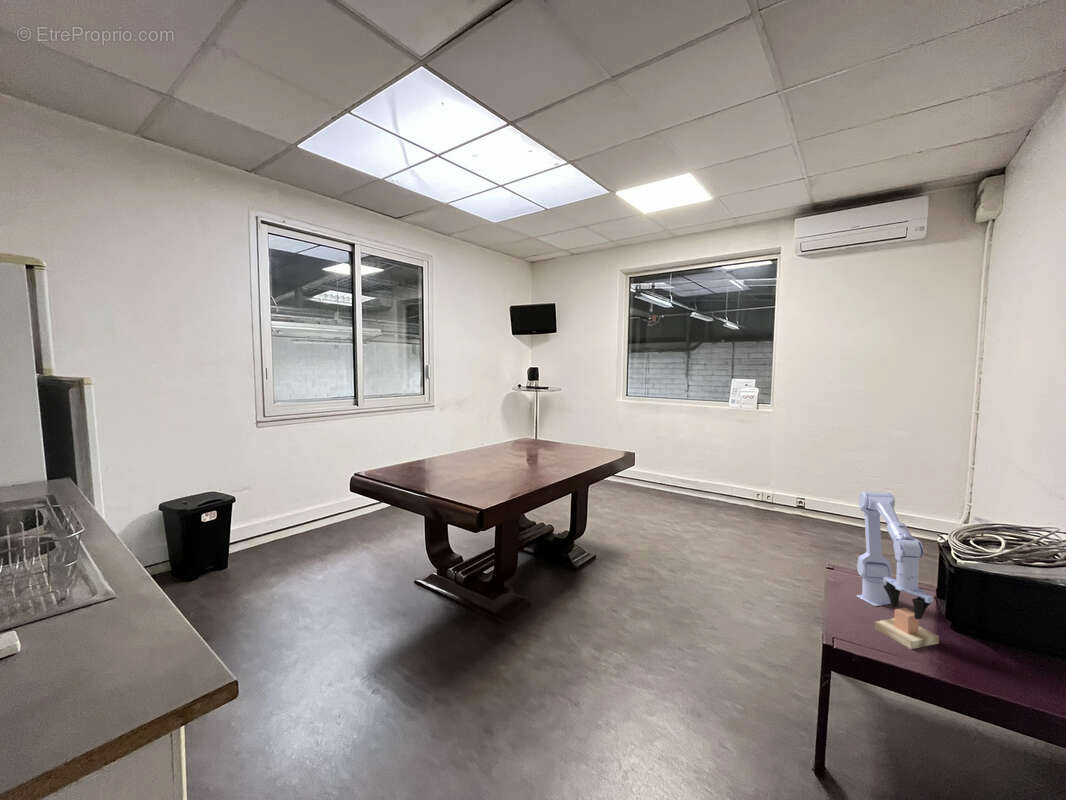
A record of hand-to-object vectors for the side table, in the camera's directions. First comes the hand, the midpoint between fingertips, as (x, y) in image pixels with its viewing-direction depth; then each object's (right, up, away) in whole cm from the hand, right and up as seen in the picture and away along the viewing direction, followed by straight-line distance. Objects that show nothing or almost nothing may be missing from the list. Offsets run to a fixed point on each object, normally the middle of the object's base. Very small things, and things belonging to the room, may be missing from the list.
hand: (906, 612), depth 149 cm
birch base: (0, -9, 0) cm, 9 cm away
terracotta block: (0, -6, 0) cm, 6 cm away
